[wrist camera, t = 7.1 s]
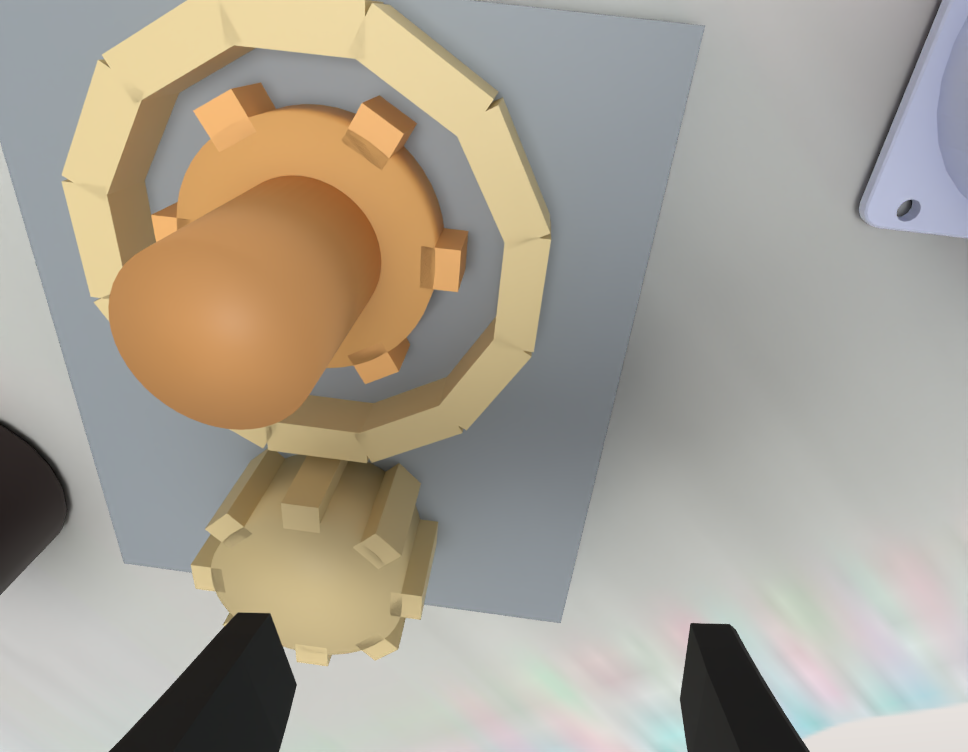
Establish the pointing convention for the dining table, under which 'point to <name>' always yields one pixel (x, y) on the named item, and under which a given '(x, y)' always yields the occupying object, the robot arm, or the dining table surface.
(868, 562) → the dining table surface
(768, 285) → the dining table surface
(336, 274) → the planet gear
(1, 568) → the bottle
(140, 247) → the carrier plate
